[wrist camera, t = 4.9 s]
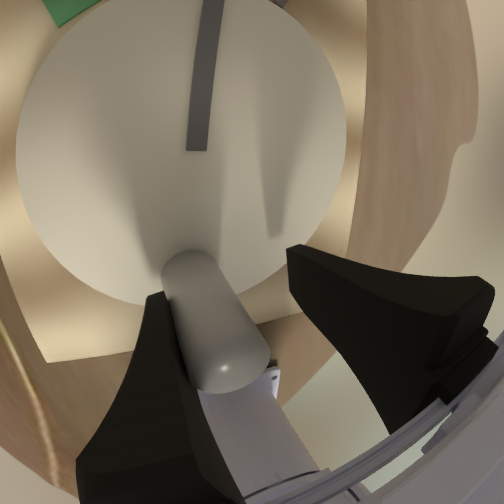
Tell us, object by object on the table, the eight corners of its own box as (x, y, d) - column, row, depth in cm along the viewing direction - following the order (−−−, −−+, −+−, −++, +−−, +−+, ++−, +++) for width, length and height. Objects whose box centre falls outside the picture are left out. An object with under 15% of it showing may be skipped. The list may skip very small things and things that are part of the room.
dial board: (323, 290, 20) (338, 303, 19) (49, 344, 14) (46, 365, 13) (346, -40, 10) (365, -48, 9) (13, -50, 4) (5, -63, 2)
